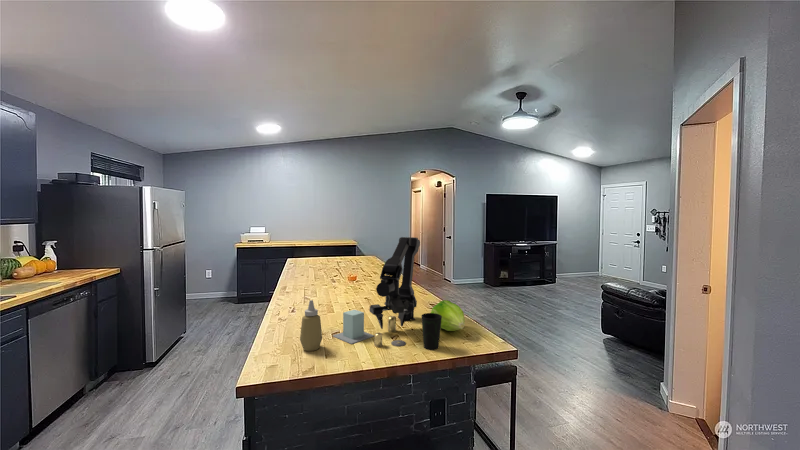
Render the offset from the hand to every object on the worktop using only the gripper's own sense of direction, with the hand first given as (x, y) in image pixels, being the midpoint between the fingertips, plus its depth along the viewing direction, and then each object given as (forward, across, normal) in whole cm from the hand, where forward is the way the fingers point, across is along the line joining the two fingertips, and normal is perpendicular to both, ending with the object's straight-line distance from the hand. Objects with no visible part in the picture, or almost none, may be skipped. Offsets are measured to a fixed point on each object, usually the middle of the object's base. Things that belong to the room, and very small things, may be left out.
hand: (391, 327), depth 148 cm
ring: (+2, -3, -14) cm, 14 cm away
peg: (+2, 0, 0) cm, 2 cm away
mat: (+2, -17, 0) cm, 17 cm away
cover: (+1, -17, 0) cm, 17 cm away
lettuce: (+2, +23, -10) cm, 25 cm away
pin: (+2, -11, -13) cm, 17 cm away
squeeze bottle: (+2, -35, -6) cm, 36 cm away
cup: (+2, +7, -22) cm, 23 cm away
